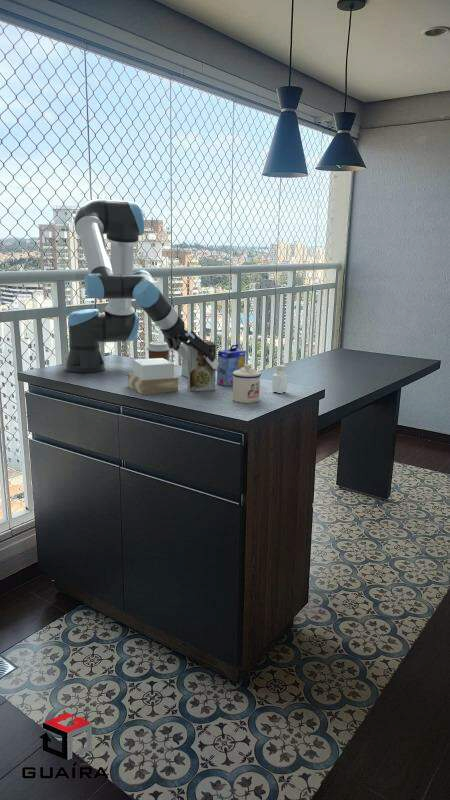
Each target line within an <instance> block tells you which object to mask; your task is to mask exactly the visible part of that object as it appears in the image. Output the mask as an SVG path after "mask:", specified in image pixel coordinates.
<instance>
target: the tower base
mask: <svg viewBox="0 0 450 800" xmlns="http://www.w3.org/2000/svg"><path fill="white" fill-rule="evenodd" d="M127 386H128V387H129V388H130V389H133V390H134V391H136V392H138V393H140V394H141V395H149V394H150V395H151V394H159V393H169V392H170V391H171V392H178V391H179V377H178V376H177V375H176V376H175V375H174V378H168V379H154V380H142V379H140V378H138V377H137V376H135V375H134V374H133V372H130V373H127Z"/></svg>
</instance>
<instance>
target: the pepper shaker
mask: <svg viewBox="0 0 450 800" xmlns="http://www.w3.org/2000/svg"><path fill="white" fill-rule="evenodd" d="M271 384H272V385H271V392H272V391H273V392H272V393H274V392H278V393H282V394H284V393H283V392H285V393H287V392H286V391H288V375H287V374H286V365H285V364H276V365H275V374H273V375H272V383H271ZM278 393H277V394H278Z"/></svg>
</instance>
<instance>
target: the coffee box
mask: <svg viewBox="0 0 450 800" xmlns="http://www.w3.org/2000/svg"><path fill="white" fill-rule="evenodd" d="M204 342H205V343H206V344H208V345H209V346H210V347H211V348H212V349H213V350H214V351H213V353H212V355H213V356H214V357H215V358H216V357H217V356H216V353H217V352H216V349H217V348H216V347H217V346H216V344H215V342H214V341H204ZM216 359H217V358H216ZM187 388H188V391H189V392H199V391H201V392H202V391H203V392H204V391H216V368H215V369H213V368H212V367H211V365H210V364H209V363H208V362H207V360H206V359H205V358H204V355H203V354H201V353H200V352H198V351H197V350H195V349H194V348H192V347H191V346H188V377H187Z"/></svg>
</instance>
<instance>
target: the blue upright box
mask: <svg viewBox="0 0 450 800" xmlns="http://www.w3.org/2000/svg"><path fill="white" fill-rule="evenodd" d="M246 353H247V351H246V350H243V349H239V344H233V345H231V346H230V348H229V349H222V350H218V351H217V361H218V362H219V364H218V365H217V367H216V368H217V371H216V372H217V373H216V384H218V385H221V386H225V387H228V386H229V387H230V386H233V372H234V371H236V370H239V369H240V368H243V367H244V365H245V364H246V357H247V356H246V355H247V354H246Z"/></svg>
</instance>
